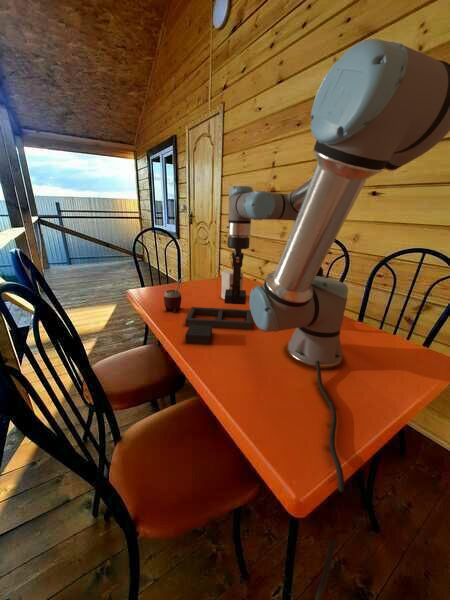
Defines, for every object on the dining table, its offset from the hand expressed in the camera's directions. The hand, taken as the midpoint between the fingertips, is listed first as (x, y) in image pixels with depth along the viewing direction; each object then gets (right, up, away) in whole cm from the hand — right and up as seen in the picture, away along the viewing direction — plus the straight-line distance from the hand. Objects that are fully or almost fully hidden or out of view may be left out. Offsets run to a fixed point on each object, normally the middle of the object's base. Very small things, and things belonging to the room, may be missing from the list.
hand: (235, 299), depth 93 cm
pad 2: (0, 0, 0) cm, 0 cm away
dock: (-6, -8, +3) cm, 10 cm away
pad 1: (-12, -13, -11) cm, 21 cm away
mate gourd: (-25, -4, +11) cm, 28 cm away
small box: (-1, +1, +28) cm, 28 cm away
